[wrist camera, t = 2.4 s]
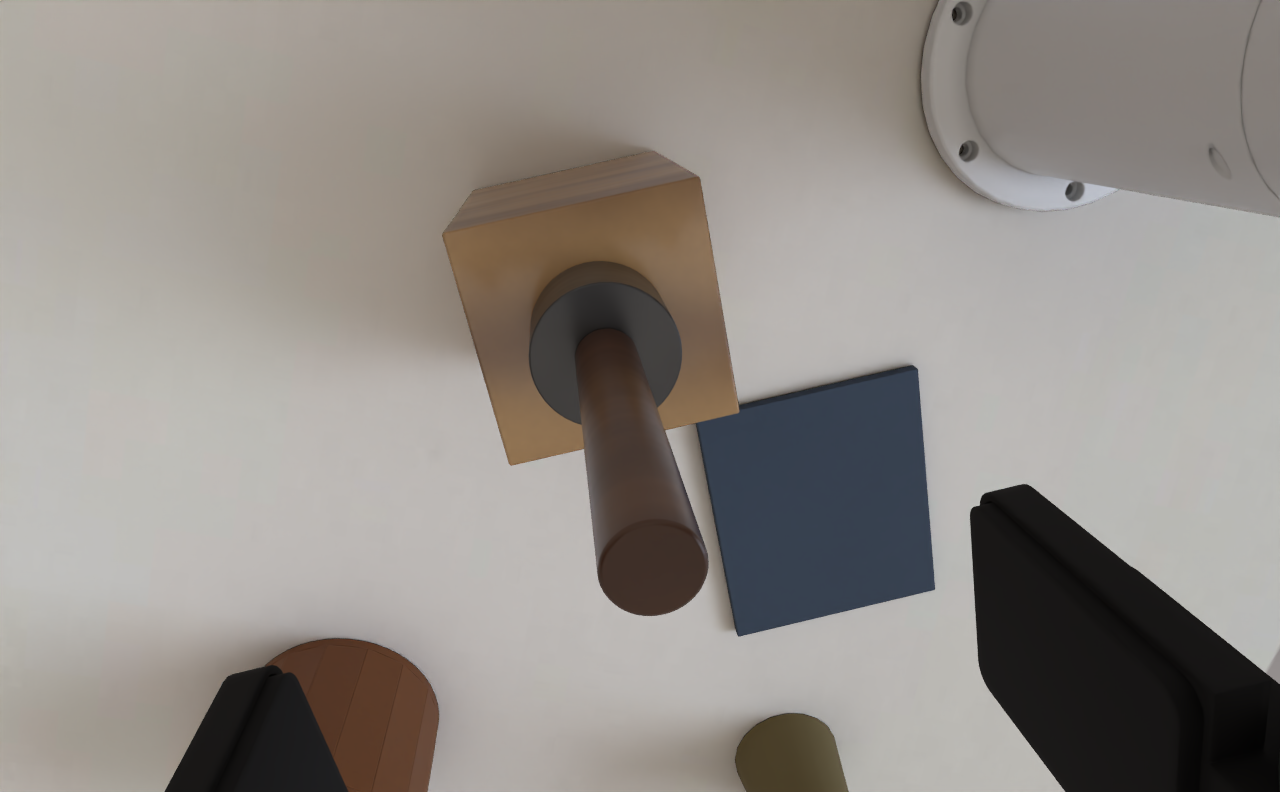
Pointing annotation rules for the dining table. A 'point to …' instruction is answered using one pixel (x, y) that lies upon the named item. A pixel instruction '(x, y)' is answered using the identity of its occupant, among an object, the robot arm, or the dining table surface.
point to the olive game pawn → (790, 757)
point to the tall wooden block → (571, 235)
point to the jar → (368, 712)
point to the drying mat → (821, 500)
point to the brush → (621, 428)
